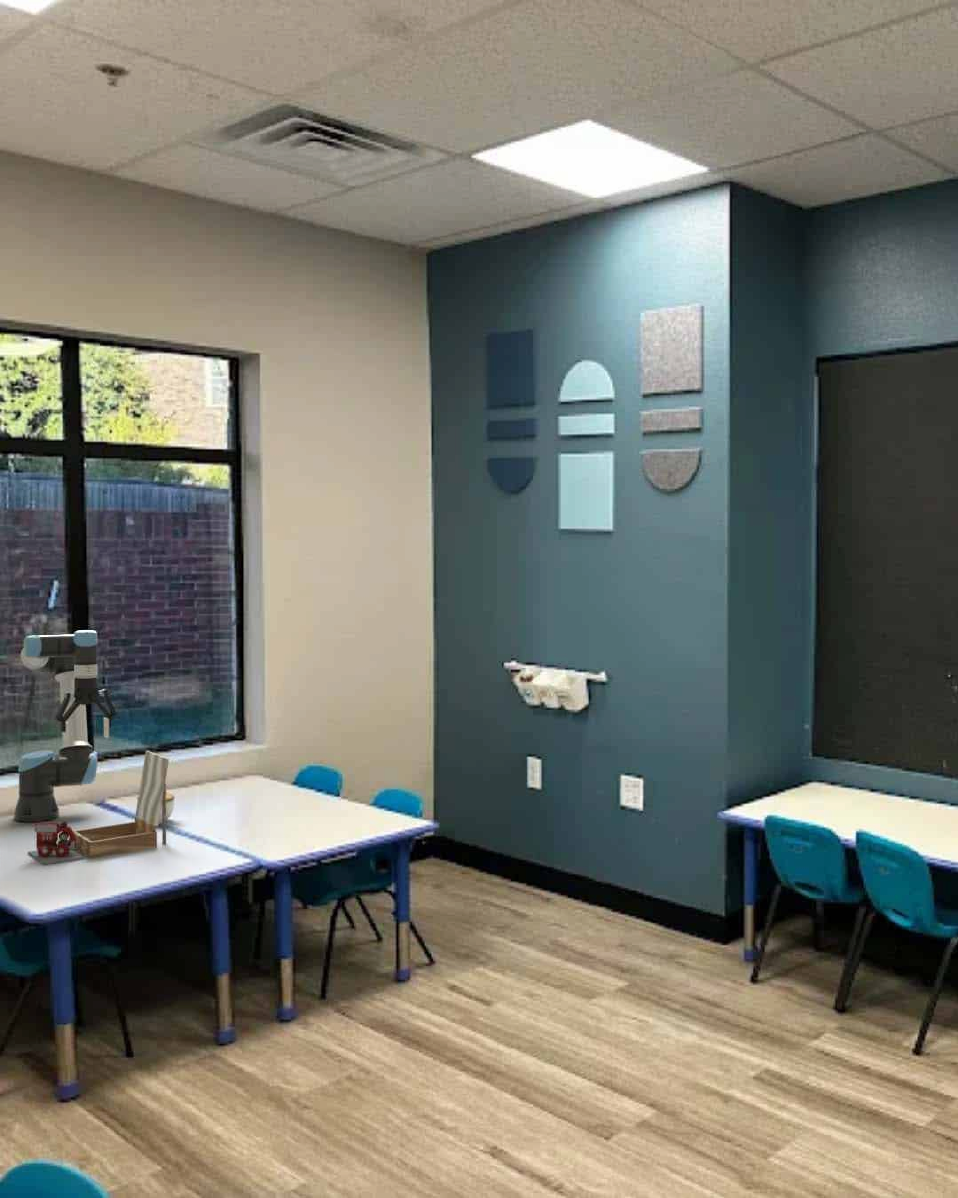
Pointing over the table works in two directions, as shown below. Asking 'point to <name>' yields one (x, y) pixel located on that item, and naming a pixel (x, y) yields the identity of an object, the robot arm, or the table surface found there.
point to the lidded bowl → (167, 806)
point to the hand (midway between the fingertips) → (86, 739)
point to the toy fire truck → (54, 839)
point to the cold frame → (146, 817)
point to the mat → (55, 857)
